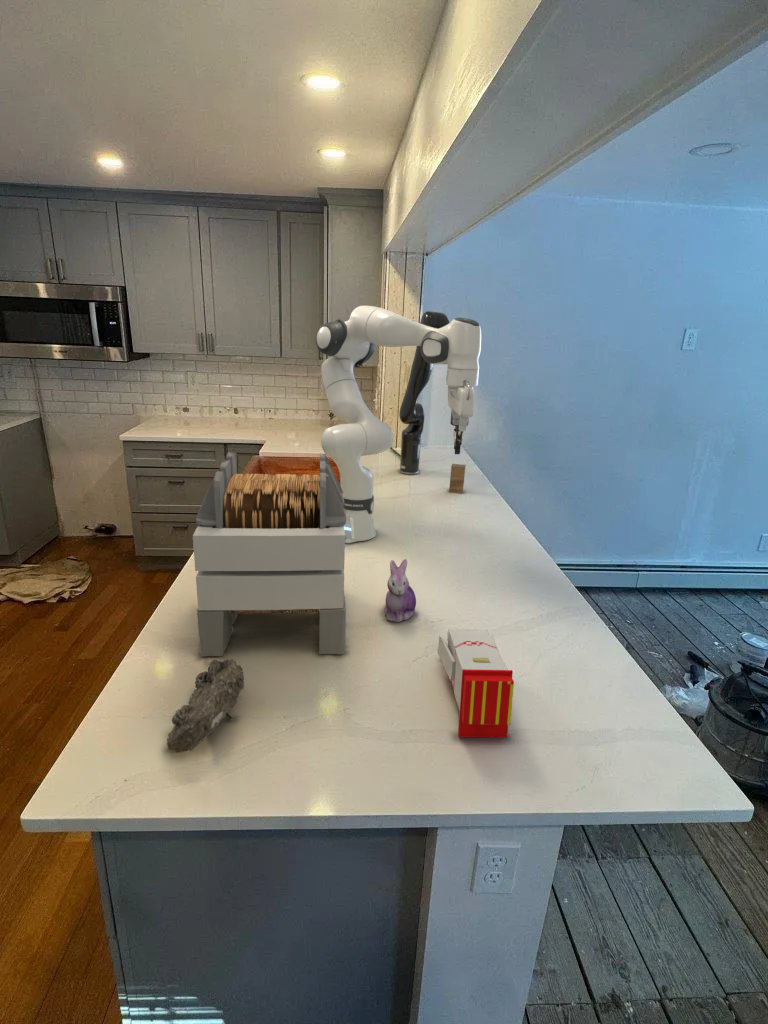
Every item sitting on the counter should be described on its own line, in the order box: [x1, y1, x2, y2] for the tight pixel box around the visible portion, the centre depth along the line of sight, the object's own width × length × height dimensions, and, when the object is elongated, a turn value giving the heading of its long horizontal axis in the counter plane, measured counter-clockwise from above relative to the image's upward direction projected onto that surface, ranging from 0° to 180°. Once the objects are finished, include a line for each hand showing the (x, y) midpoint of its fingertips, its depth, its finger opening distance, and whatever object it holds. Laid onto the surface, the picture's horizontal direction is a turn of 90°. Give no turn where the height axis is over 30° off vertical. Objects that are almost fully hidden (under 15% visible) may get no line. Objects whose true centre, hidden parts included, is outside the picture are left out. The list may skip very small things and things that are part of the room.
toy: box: [437, 628, 515, 738], centre depth 117 cm, size 12×13×30 cm
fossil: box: [166, 658, 245, 754], centre depth 106 cm, size 22×10×15 cm
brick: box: [448, 463, 467, 494], centre depth 248 cm, size 4×6×12 cm
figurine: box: [384, 558, 417, 623], centre depth 145 cm, size 9×10×15 cm
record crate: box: [192, 452, 347, 658], centre depth 136 cm, size 34×33×41 cm
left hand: (458, 427), depth 164 cm, fingers open, 8 cm apart
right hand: (456, 451), depth 241 cm, fingers open, 8 cm apart
